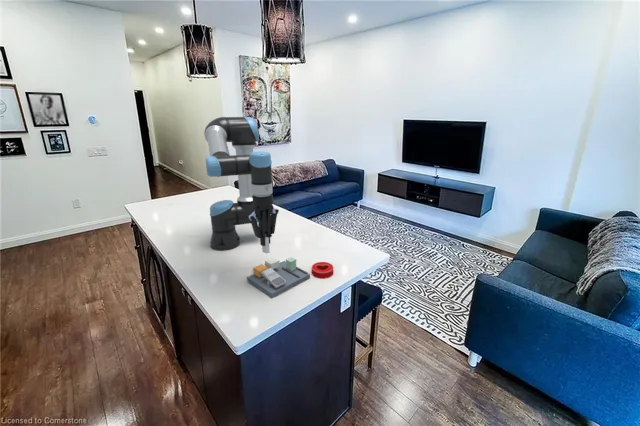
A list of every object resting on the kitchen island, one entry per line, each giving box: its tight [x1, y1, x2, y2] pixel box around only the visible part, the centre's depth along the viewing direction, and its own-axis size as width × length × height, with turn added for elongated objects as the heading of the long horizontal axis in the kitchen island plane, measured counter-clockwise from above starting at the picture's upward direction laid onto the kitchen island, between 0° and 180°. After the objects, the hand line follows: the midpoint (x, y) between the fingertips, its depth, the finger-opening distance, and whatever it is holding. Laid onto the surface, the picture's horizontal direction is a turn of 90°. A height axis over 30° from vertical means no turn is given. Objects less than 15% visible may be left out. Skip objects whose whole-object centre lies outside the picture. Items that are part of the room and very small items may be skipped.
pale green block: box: [285, 256, 297, 271], centre depth 127 cm, size 3×3×5 cm
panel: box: [246, 260, 311, 299], centre depth 123 cm, size 17×20×4 cm
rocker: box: [261, 268, 286, 288], centre depth 117 cm, size 10×5×1 cm, turn 46°
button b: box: [264, 257, 280, 269], centre depth 126 cm, size 4×4×3 cm
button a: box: [252, 264, 268, 278], centre depth 123 cm, size 4×4×3 cm
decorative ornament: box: [311, 261, 334, 279], centre depth 129 cm, size 10×10×3 cm
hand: (266, 252), depth 116 cm, fingers closed
